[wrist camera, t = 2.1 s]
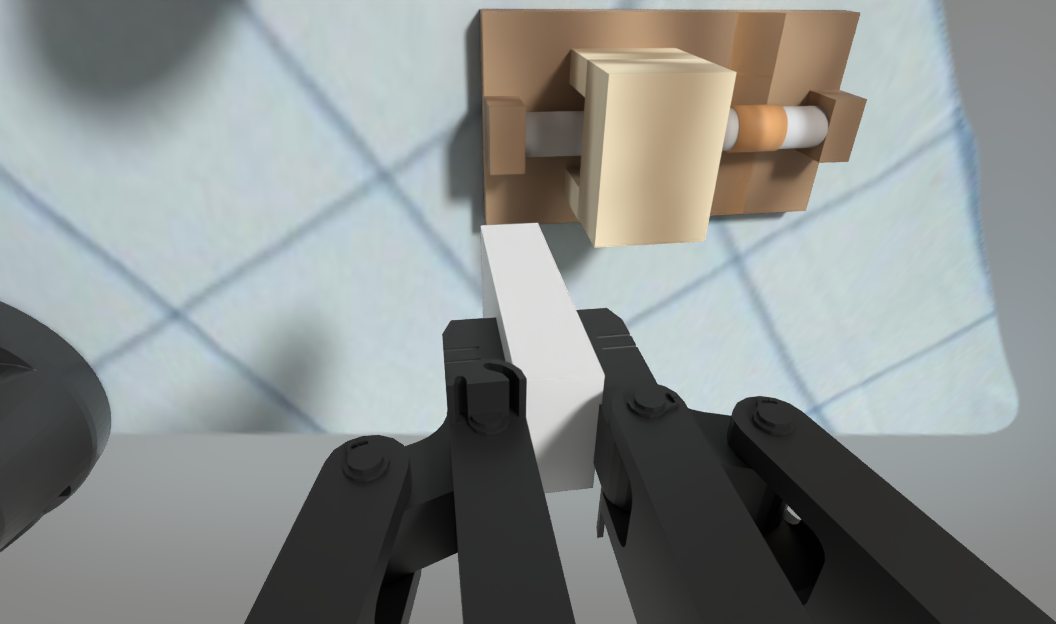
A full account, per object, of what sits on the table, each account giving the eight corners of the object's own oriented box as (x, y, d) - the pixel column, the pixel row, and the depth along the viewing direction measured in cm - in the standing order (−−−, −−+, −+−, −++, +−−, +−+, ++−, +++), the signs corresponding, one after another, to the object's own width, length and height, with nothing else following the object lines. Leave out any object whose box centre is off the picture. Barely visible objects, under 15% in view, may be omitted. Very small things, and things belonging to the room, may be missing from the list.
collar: (563, 195, 31) (594, 247, 26) (571, 48, 27) (609, 73, 22) (656, 192, 32) (704, 241, 26) (675, 48, 28) (736, 72, 23)
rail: (484, 217, 32) (491, 245, 29) (479, 9, 27) (488, 17, 24) (794, 202, 35) (829, 227, 32) (844, 10, 29) (893, 17, 27)
